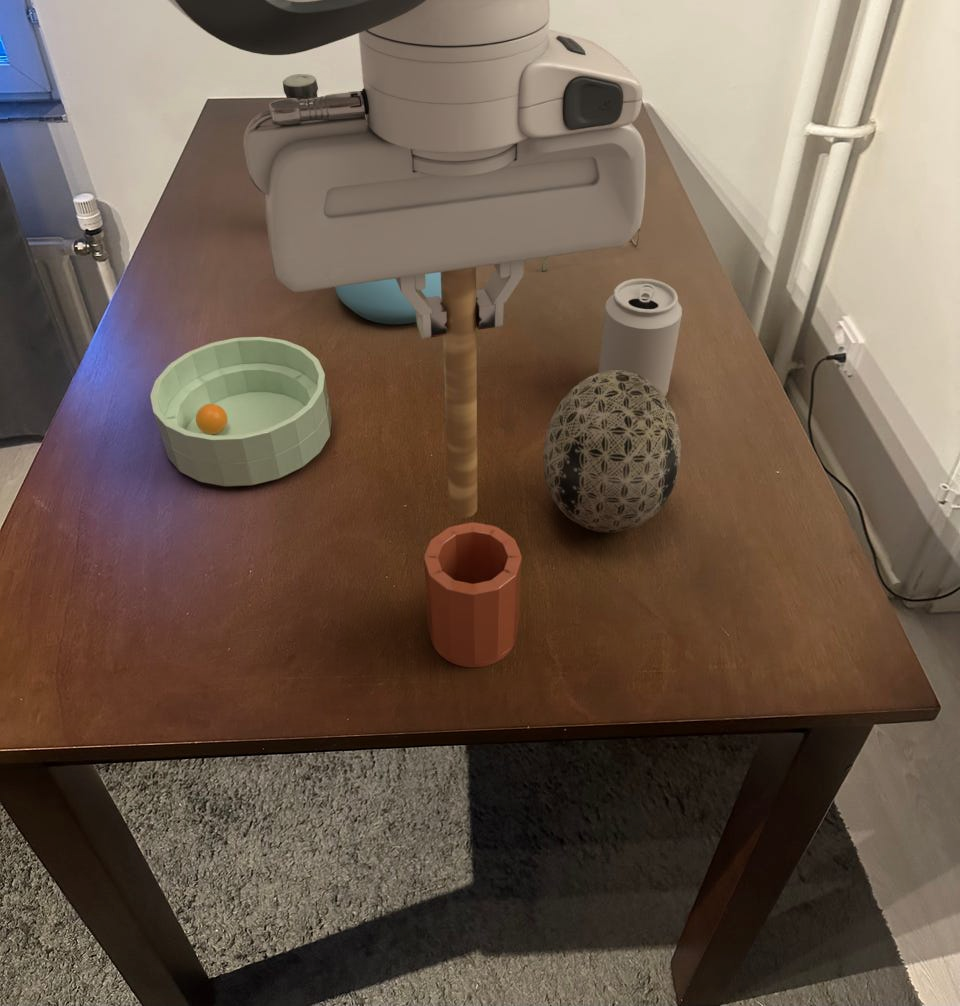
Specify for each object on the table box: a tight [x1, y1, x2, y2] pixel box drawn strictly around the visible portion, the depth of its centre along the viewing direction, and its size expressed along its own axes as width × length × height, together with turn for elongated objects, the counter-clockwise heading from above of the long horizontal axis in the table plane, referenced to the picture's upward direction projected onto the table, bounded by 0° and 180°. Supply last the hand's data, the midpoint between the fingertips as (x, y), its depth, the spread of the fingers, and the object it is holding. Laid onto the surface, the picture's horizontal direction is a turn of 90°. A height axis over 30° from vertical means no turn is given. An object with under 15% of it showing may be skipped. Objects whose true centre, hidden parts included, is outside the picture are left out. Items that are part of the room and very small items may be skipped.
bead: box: [196, 404, 227, 434], centre depth 88 cm, size 3×3×3 cm
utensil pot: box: [423, 522, 523, 668], centre depth 69 cm, size 7×7×9 cm
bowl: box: [149, 336, 333, 487], centre depth 87 cm, size 16×16×6 cm
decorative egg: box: [542, 370, 682, 534], centre depth 76 cm, size 12×12×15 cm
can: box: [597, 277, 683, 397], centre depth 90 cm, size 8×8×12 cm
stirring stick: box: [441, 267, 478, 519], centre depth 56 cm, size 2×2×20 cm
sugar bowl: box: [334, 272, 442, 325], centre depth 104 cm, size 15×15×12 cm
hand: (460, 327), depth 52 cm, fingers closed on stirring stick, 2 cm apart
